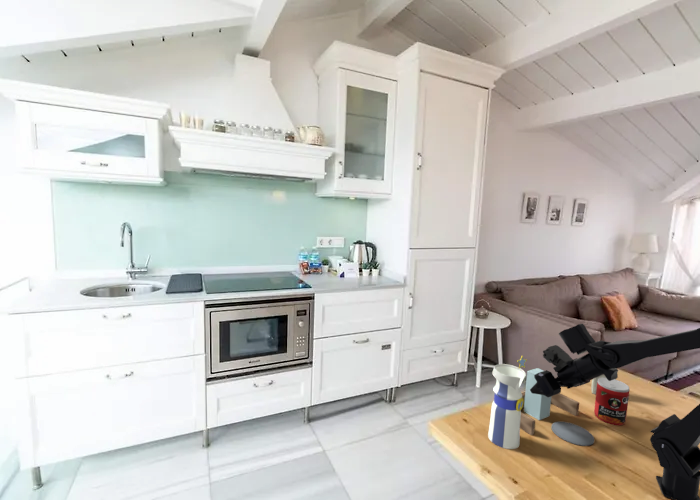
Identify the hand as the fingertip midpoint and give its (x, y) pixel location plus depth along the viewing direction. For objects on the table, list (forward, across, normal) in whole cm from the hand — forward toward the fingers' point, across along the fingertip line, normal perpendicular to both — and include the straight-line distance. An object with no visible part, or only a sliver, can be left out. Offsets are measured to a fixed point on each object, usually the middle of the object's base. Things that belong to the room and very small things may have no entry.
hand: (540, 388), depth 103 cm
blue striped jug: (+4, +19, +8) cm, 22 cm away
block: (+6, 0, +6) cm, 9 cm away
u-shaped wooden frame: (+6, 0, +6) cm, 8 cm away
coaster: (-1, 0, +13) cm, 13 cm away
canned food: (-1, -18, +14) cm, 23 cm away
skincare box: (+5, -32, +7) cm, 34 cm away
